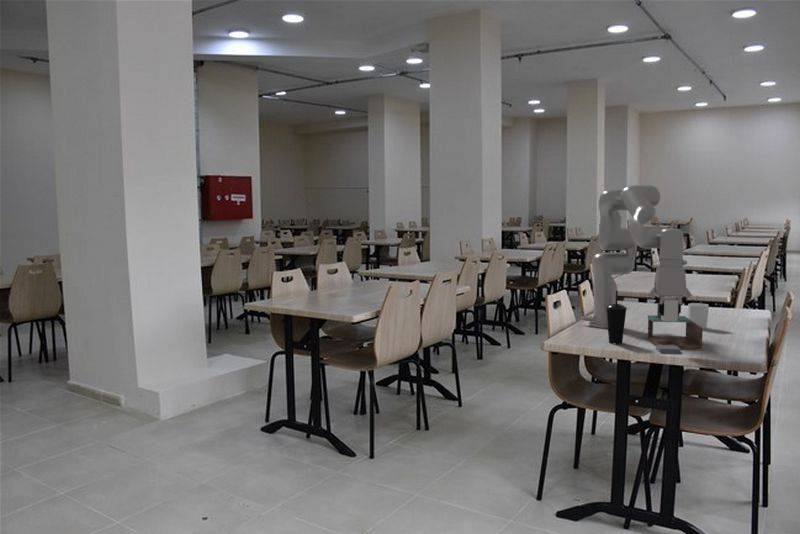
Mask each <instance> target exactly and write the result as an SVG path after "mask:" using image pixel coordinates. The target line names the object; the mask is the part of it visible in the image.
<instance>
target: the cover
mask: <svg viewBox="0 0 800 534" xmlns="http://www.w3.org/2000/svg"><path fill="white" fill-rule="evenodd" d="M656 314H657V315H652V314H651V315H648V314H647V320H648V319H650V320H651V321H652V322H653V323H686V322H690V323H691V320H690V319H689V317H687V316H685V315H679V316H678V321H663V320H662V319H661V315H660V313H659V303H657V311H656Z"/></svg>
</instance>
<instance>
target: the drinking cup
mask: <svg viewBox="0 0 800 534" xmlns="http://www.w3.org/2000/svg"><path fill="white" fill-rule="evenodd" d="M618 295H619V291H618V289H617V290H616V304H611V305H609V306H606V309H607V322H608V328H607V331H608V332H607V333H608V343H609V344H612V343H616V344H615V345H621V344H620V343H622V344H623V339H624V330H625V324H626V323H625V322H626V315H627V314H626V313H627V310H628V307H627V306H625V305H623V304H620V303H618V298H619V297H618Z"/></svg>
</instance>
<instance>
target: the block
mask: <svg viewBox="0 0 800 534" xmlns="http://www.w3.org/2000/svg"><path fill="white" fill-rule="evenodd" d="M663 304H664V315H663V316H662V315H661V319H662V320H663V321H678V300H677V299H676V297H673V298H672V297H671V298H668V297H667V298H665V297H664V301H663Z"/></svg>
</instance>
